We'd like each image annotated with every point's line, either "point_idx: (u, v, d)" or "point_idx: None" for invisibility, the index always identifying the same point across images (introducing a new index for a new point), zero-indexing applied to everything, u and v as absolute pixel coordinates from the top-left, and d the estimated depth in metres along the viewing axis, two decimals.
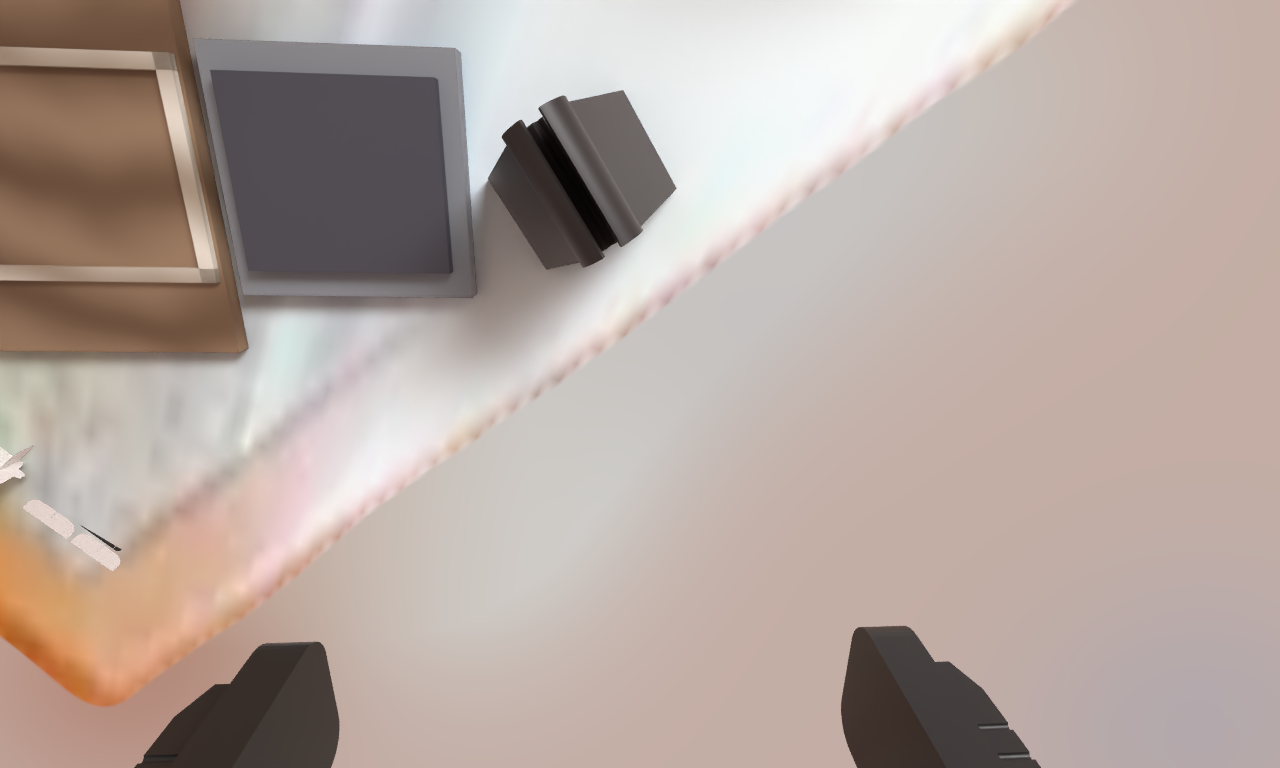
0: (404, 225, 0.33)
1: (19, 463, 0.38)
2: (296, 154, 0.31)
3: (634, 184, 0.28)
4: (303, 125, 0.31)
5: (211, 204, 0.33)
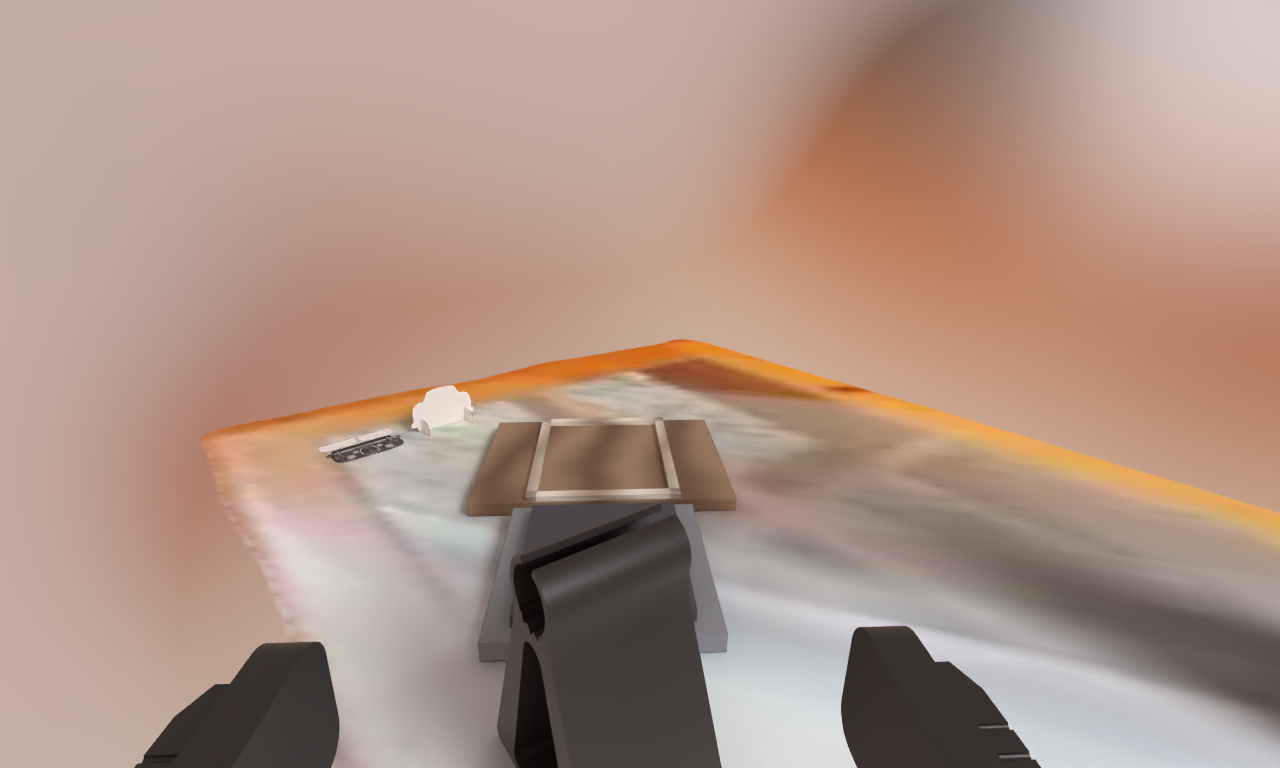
0: None
1: (420, 430, 0.58)
2: None
3: (605, 710, 0.21)
4: None
5: None
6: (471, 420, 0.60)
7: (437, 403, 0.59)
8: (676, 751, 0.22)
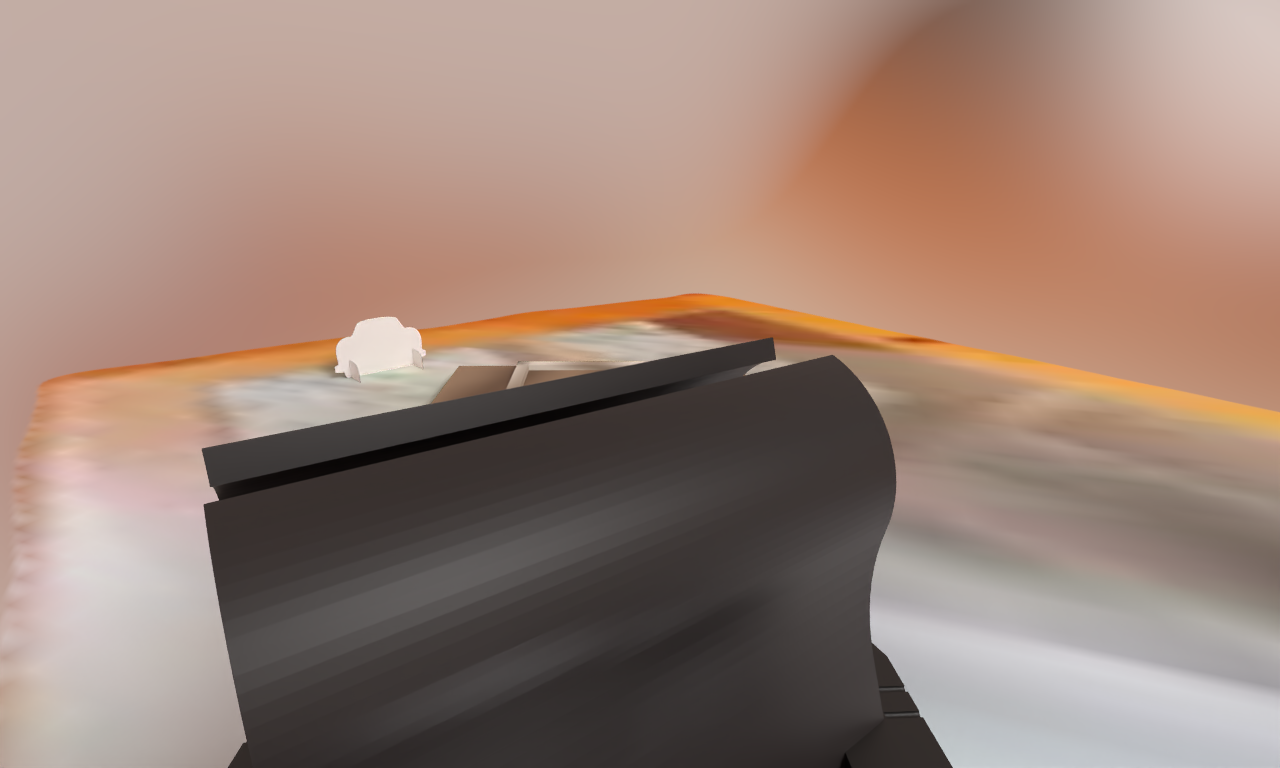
0: None
1: (349, 376, 0.42)
2: None
3: None
4: None
5: None
6: (421, 366, 0.45)
7: (372, 340, 0.43)
8: None
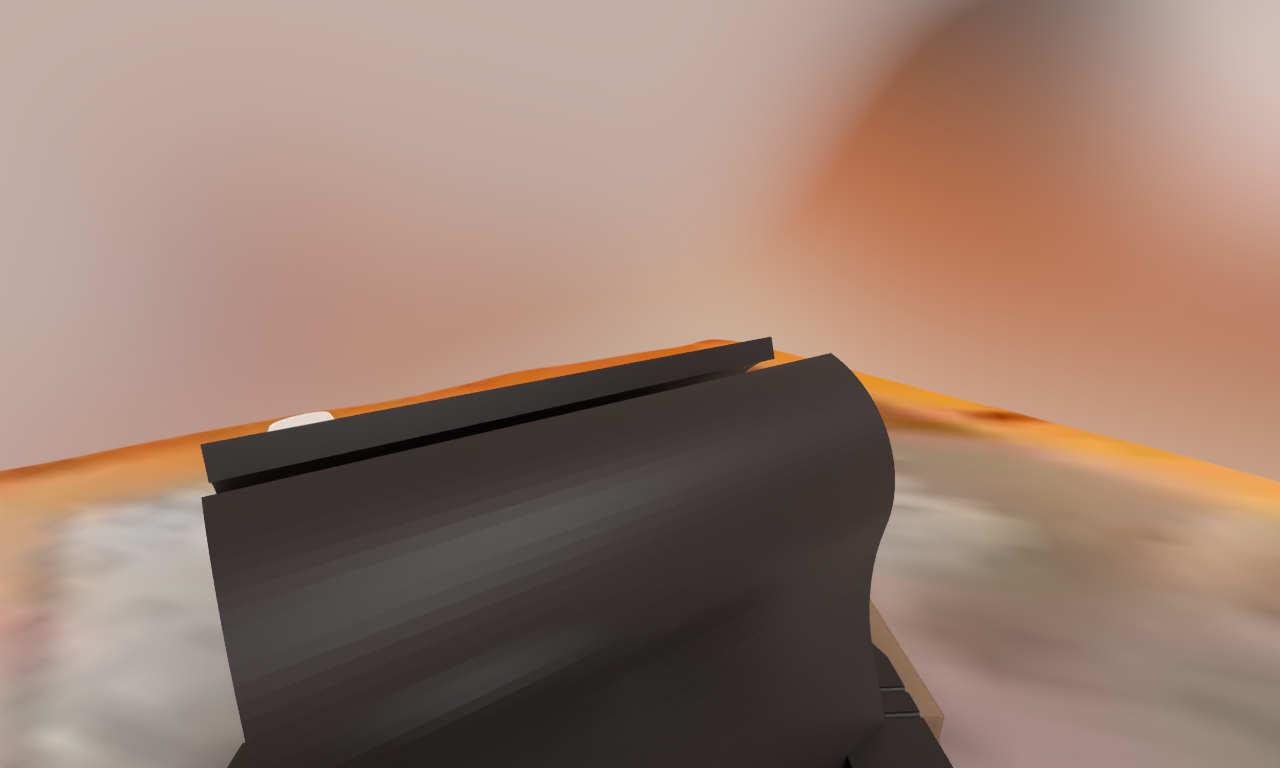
0: None
1: None
2: None
3: None
4: None
5: None
6: None
7: None
8: None
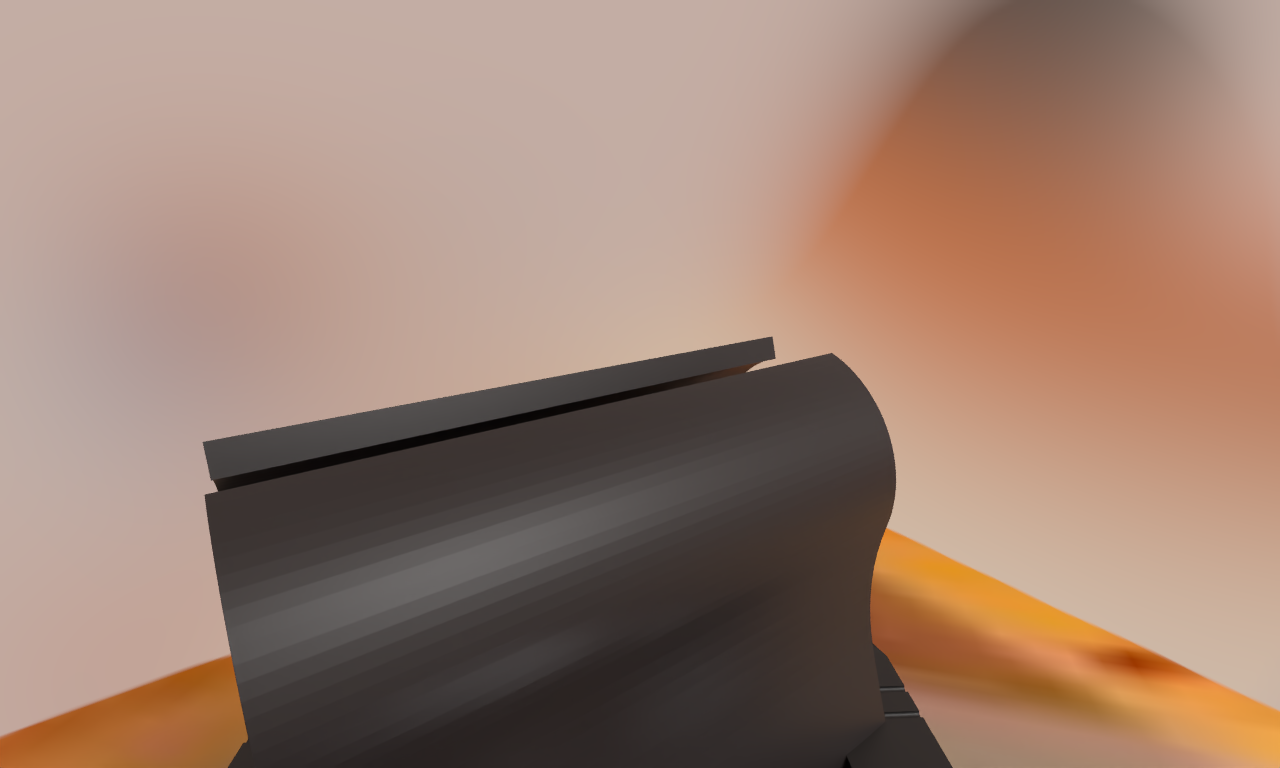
0: None
1: None
2: None
3: None
4: None
5: None
6: None
7: None
8: None
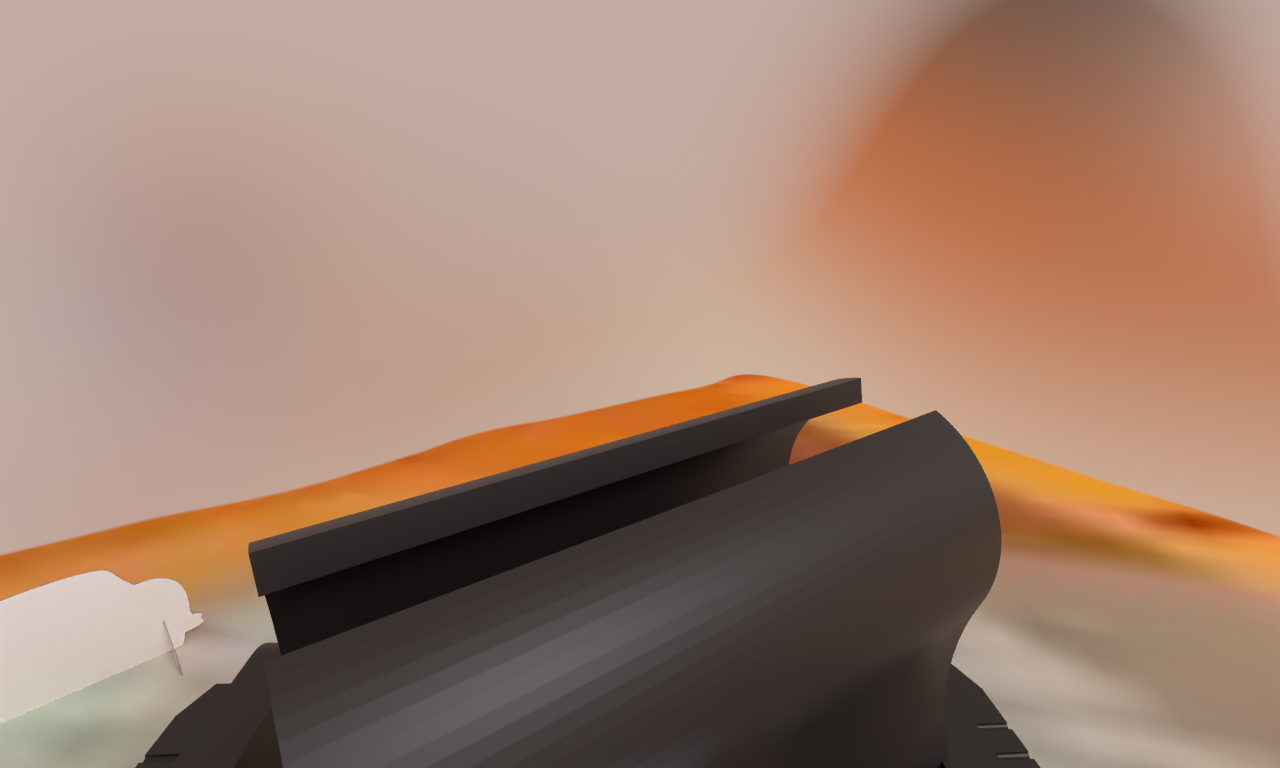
0: None
1: None
2: None
3: None
4: None
5: None
6: (178, 667, 0.20)
7: (39, 636, 0.18)
8: None
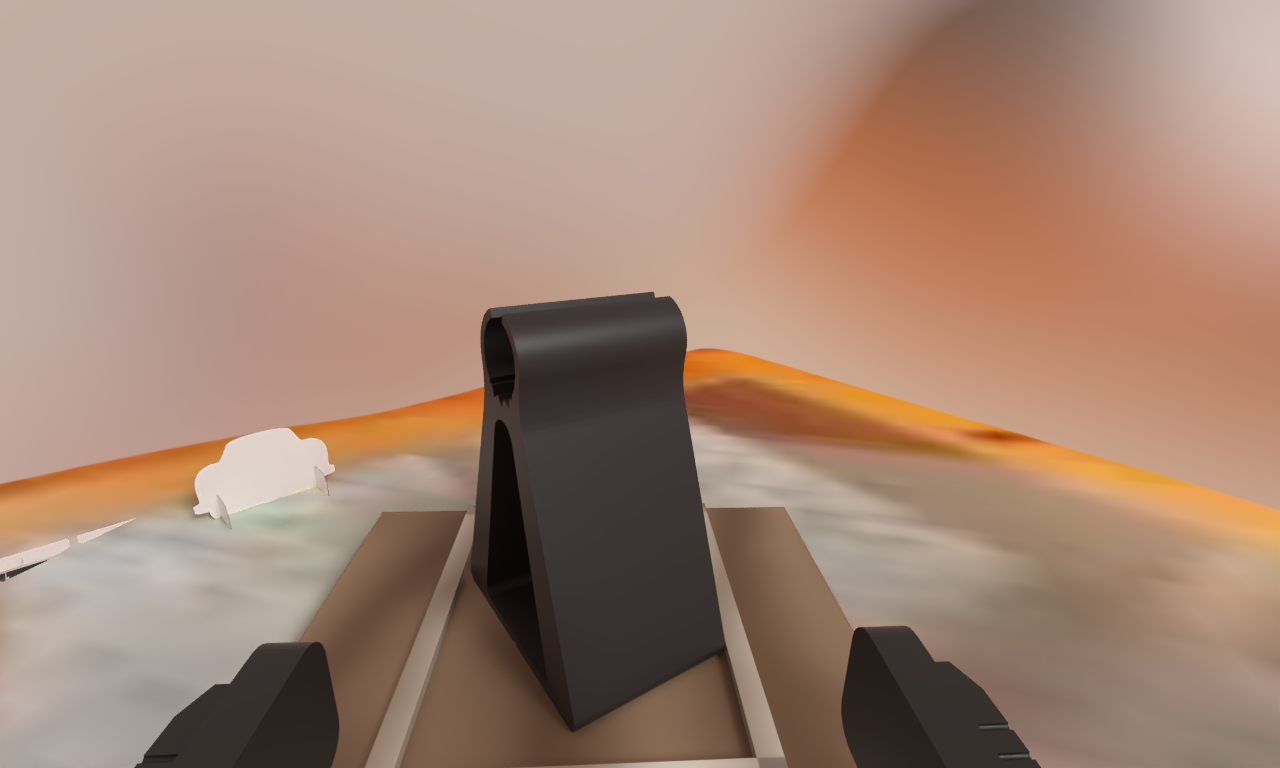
0: None
1: (217, 516, 0.30)
2: None
3: (584, 494, 0.18)
4: None
5: None
6: (326, 491, 0.32)
7: (253, 463, 0.31)
8: (665, 560, 0.20)
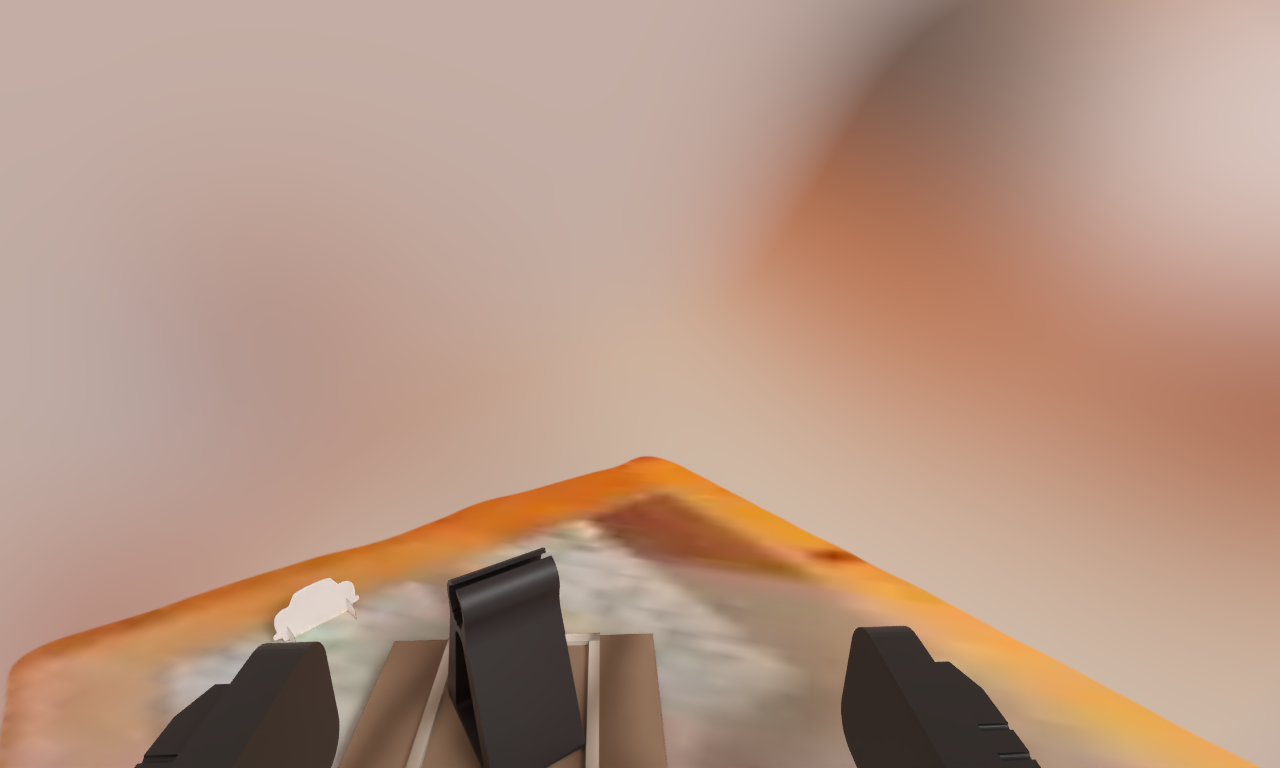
0: None
1: (287, 639, 0.47)
2: None
3: (500, 672, 0.35)
4: None
5: None
6: (354, 616, 0.50)
7: (308, 603, 0.48)
8: (548, 701, 0.36)
